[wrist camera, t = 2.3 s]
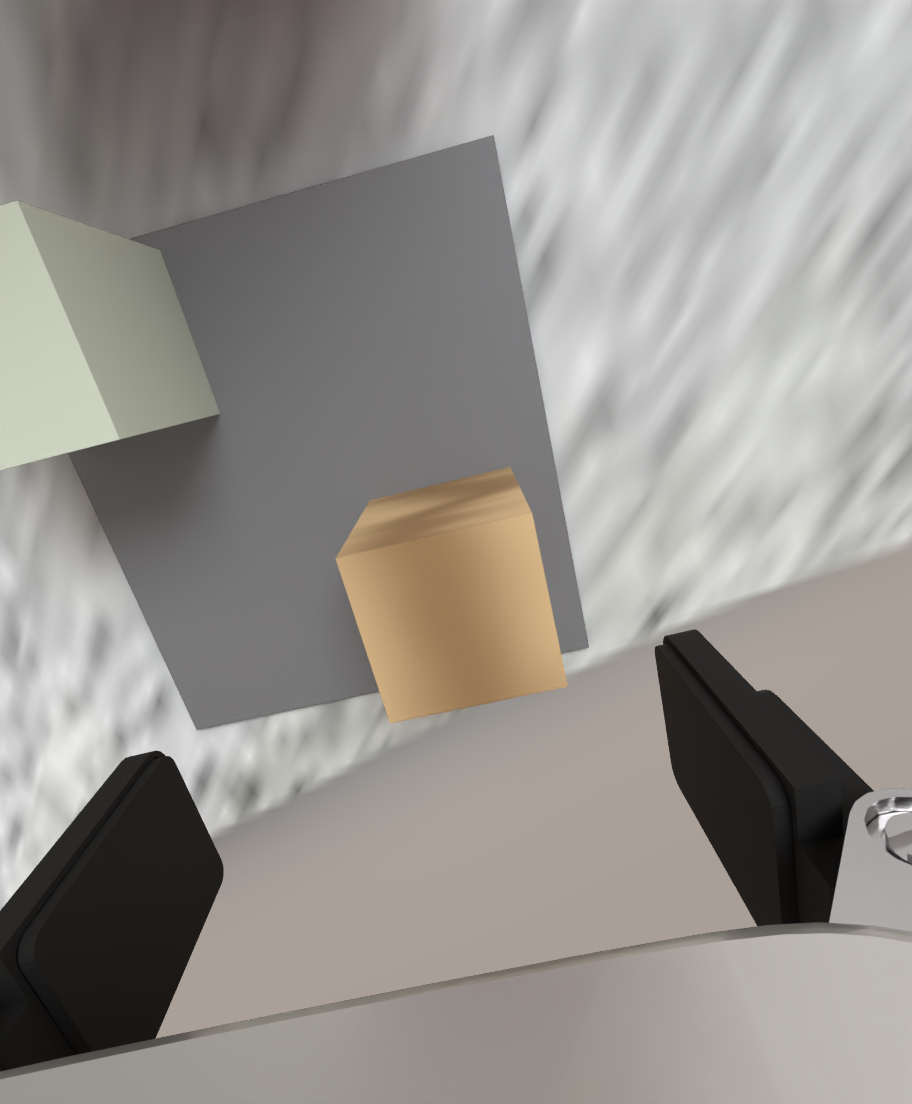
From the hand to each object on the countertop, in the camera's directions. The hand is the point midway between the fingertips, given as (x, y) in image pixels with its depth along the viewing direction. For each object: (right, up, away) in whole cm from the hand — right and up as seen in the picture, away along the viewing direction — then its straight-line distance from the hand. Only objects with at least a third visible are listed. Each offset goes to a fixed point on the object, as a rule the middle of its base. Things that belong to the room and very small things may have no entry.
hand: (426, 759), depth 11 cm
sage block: (-10, +10, +8) cm, 16 cm away
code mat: (-4, +6, +9) cm, 12 cm away
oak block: (+1, +4, +10) cm, 11 cm away
